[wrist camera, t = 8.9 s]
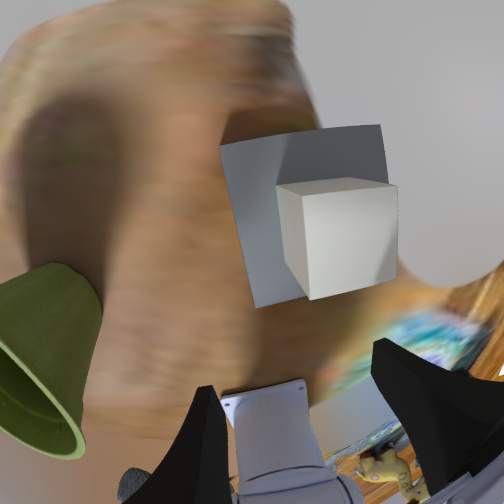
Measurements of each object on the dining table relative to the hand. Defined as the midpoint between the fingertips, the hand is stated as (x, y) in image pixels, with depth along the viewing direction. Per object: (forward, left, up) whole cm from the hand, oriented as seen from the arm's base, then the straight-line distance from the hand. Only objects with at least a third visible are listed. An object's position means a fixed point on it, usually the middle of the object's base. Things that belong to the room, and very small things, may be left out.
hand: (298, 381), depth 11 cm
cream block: (+5, -4, -7) cm, 9 cm away
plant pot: (+2, +16, -10) cm, 19 cm away
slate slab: (+5, -4, -10) cm, 12 cm away
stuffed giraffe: (-36, -12, -10) cm, 39 cm away
